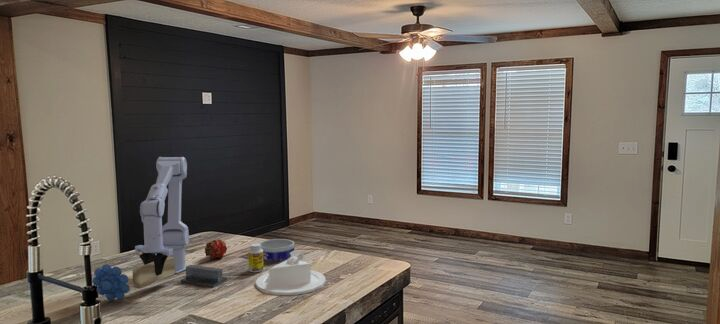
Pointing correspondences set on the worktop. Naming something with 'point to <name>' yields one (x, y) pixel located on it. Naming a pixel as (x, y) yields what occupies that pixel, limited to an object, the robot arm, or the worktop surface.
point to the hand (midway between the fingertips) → (154, 273)
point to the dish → (291, 277)
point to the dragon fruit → (215, 249)
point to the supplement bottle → (255, 258)
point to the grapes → (111, 282)
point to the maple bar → (152, 273)
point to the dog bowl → (277, 250)
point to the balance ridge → (203, 276)
